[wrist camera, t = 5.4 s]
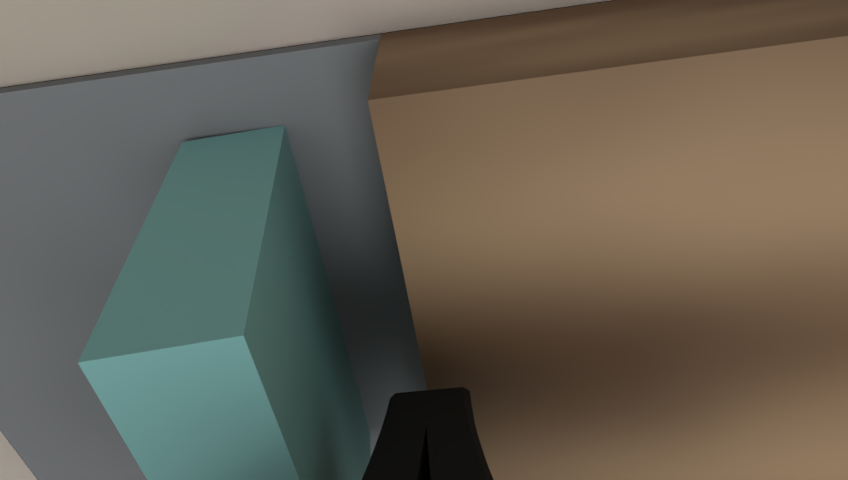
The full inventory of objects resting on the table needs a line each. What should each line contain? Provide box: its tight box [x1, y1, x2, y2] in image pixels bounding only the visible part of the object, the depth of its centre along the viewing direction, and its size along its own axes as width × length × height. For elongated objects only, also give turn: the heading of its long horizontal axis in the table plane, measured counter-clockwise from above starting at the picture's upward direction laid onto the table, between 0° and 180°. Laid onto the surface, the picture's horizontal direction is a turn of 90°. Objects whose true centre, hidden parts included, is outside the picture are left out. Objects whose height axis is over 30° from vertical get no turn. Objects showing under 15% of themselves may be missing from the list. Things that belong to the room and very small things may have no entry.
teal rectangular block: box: [78, 125, 371, 480], centre depth 13 cm, size 9×6×2 cm
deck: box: [368, 0, 848, 480], centre depth 14 cm, size 12×14×3 cm
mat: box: [0, 34, 427, 480], centre depth 16 cm, size 12×12×1 cm
